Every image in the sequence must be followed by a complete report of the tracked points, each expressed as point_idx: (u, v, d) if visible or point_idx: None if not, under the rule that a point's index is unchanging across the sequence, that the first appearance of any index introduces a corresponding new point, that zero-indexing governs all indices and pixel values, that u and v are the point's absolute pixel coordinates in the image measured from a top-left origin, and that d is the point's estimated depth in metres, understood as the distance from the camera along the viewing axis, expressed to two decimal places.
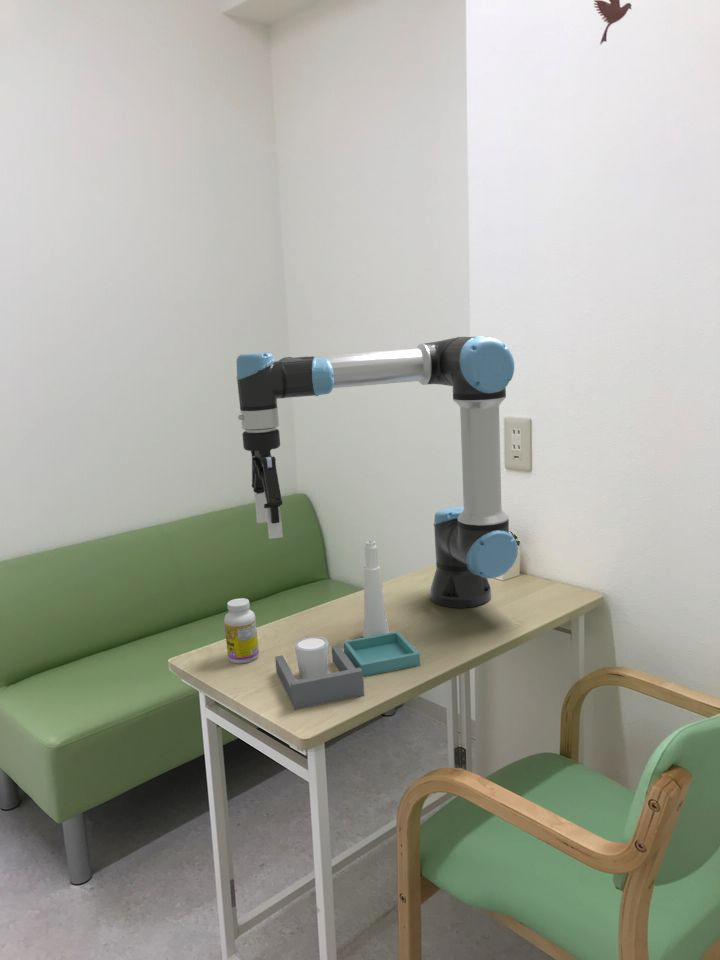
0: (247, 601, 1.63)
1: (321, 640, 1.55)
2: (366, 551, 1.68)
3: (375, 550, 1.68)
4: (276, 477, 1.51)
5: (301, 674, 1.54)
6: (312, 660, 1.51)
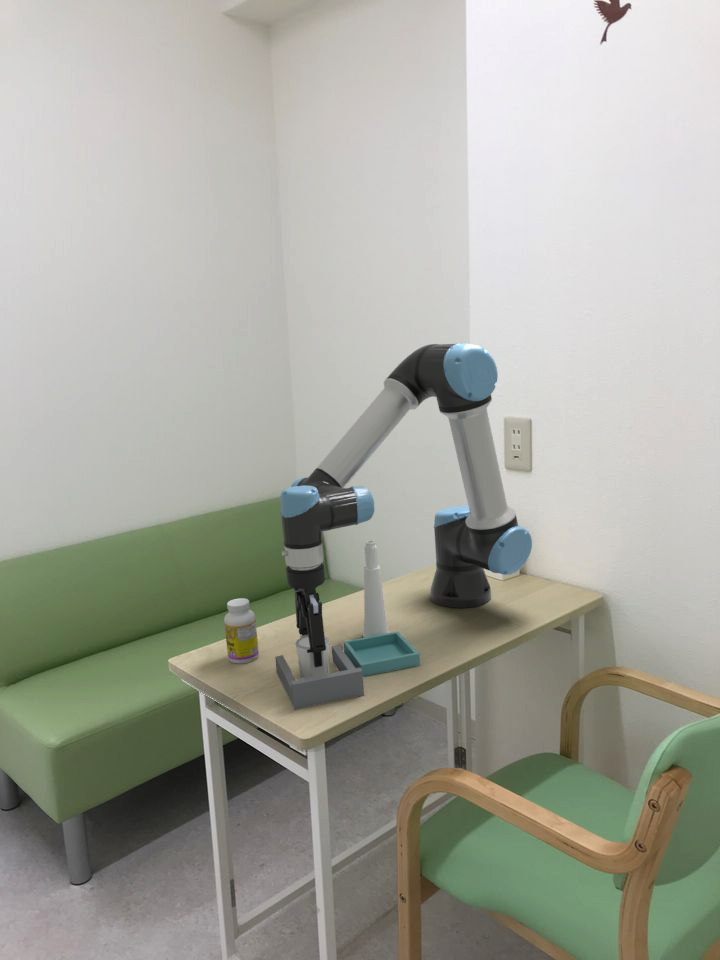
0: (247, 601, 1.63)
1: None
2: (366, 551, 1.68)
3: (375, 550, 1.68)
4: (321, 623, 1.48)
5: (302, 672, 1.54)
6: None
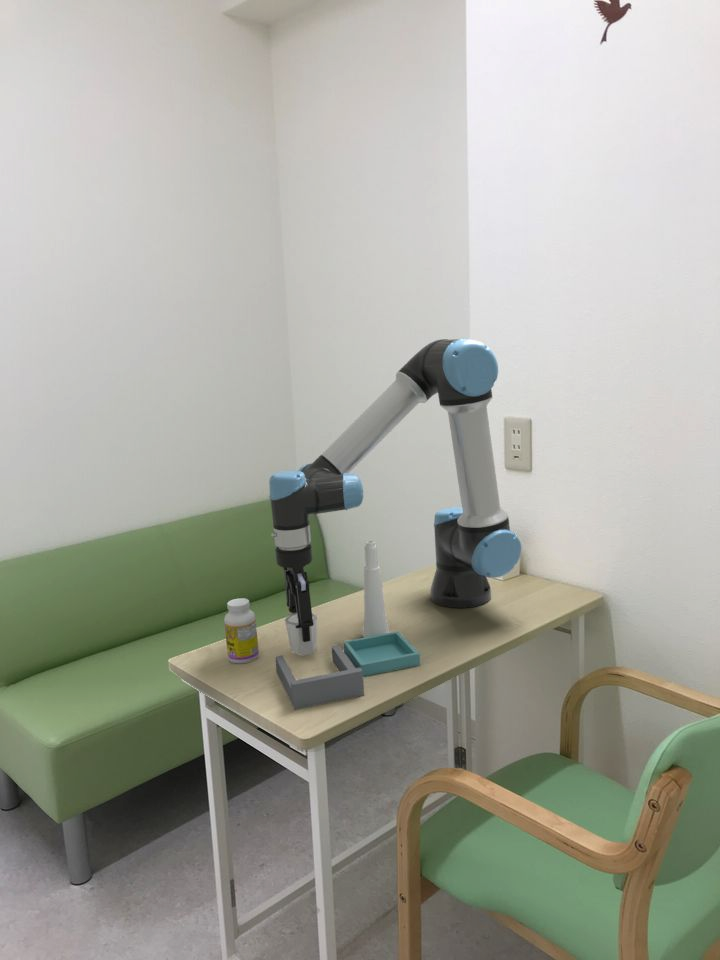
0: (247, 601, 1.63)
1: None
2: (366, 551, 1.68)
3: (375, 550, 1.68)
4: (309, 600, 1.56)
5: (291, 647, 1.63)
6: None
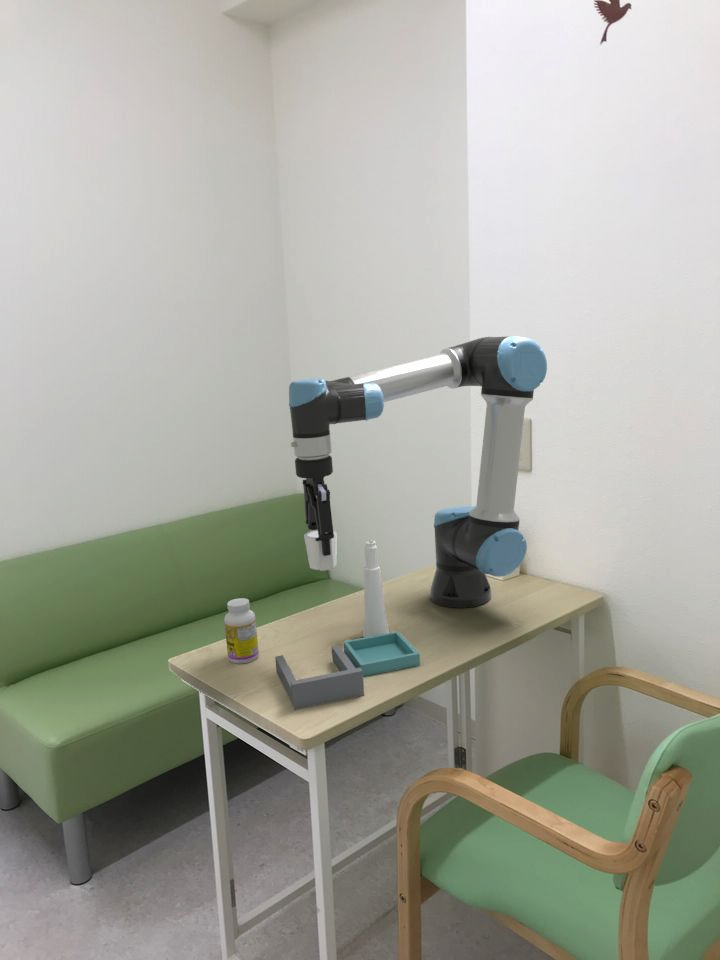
0: (247, 601, 1.63)
1: None
2: (366, 551, 1.68)
3: (375, 550, 1.68)
4: (329, 511, 1.51)
5: (311, 563, 1.58)
6: None
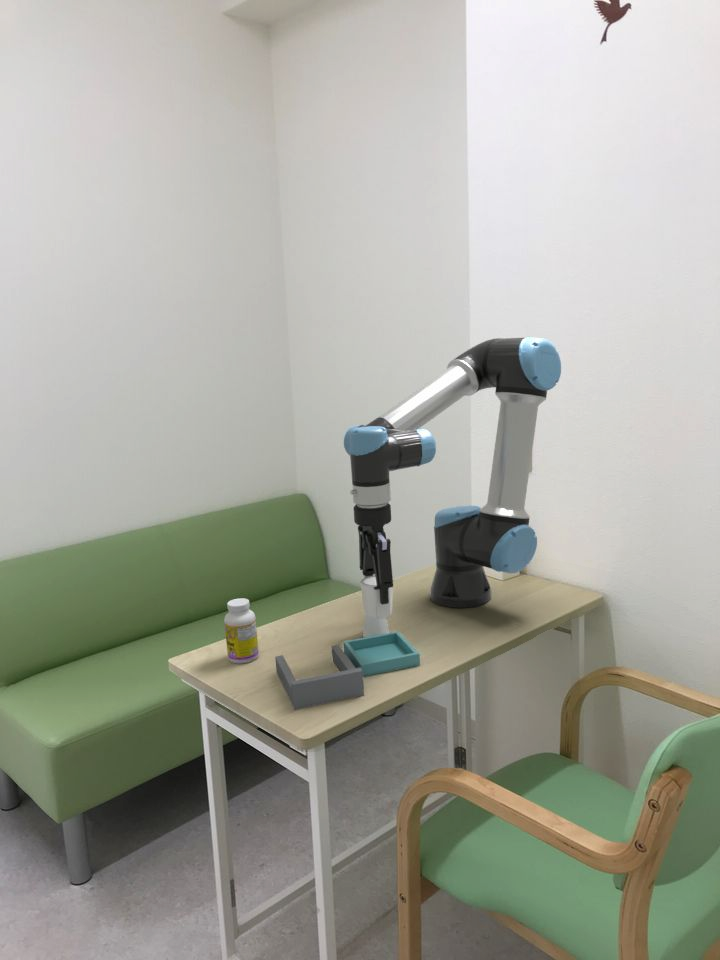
0: (247, 601, 1.63)
1: None
2: None
3: None
4: (389, 560, 1.50)
5: (367, 610, 1.57)
6: None
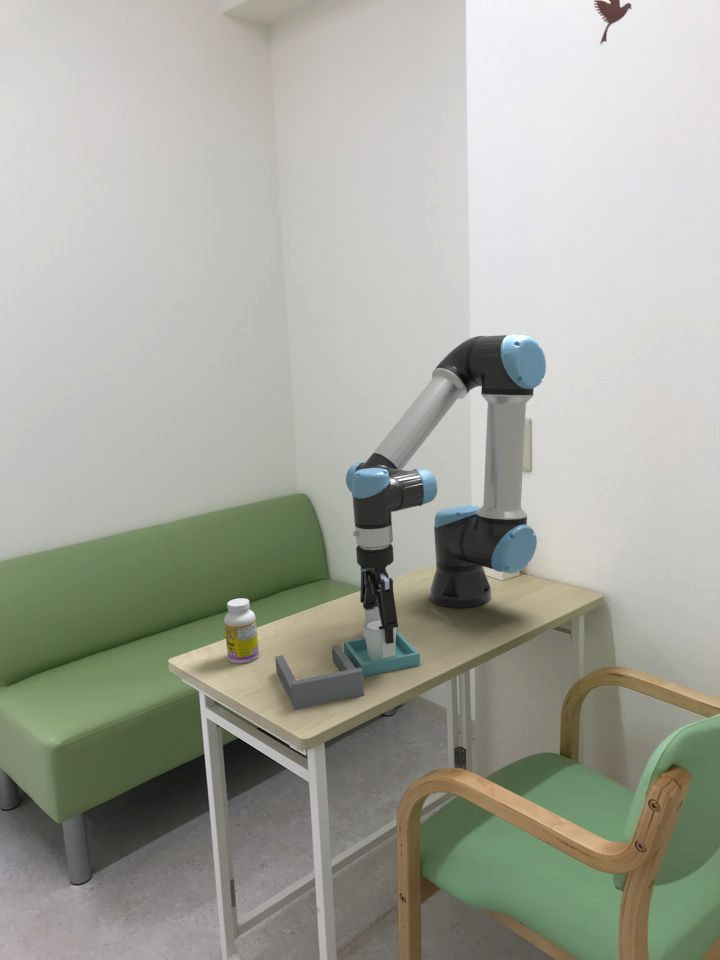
0: (247, 601, 1.63)
1: None
2: None
3: None
4: (393, 599, 1.51)
5: (370, 655, 1.59)
6: None
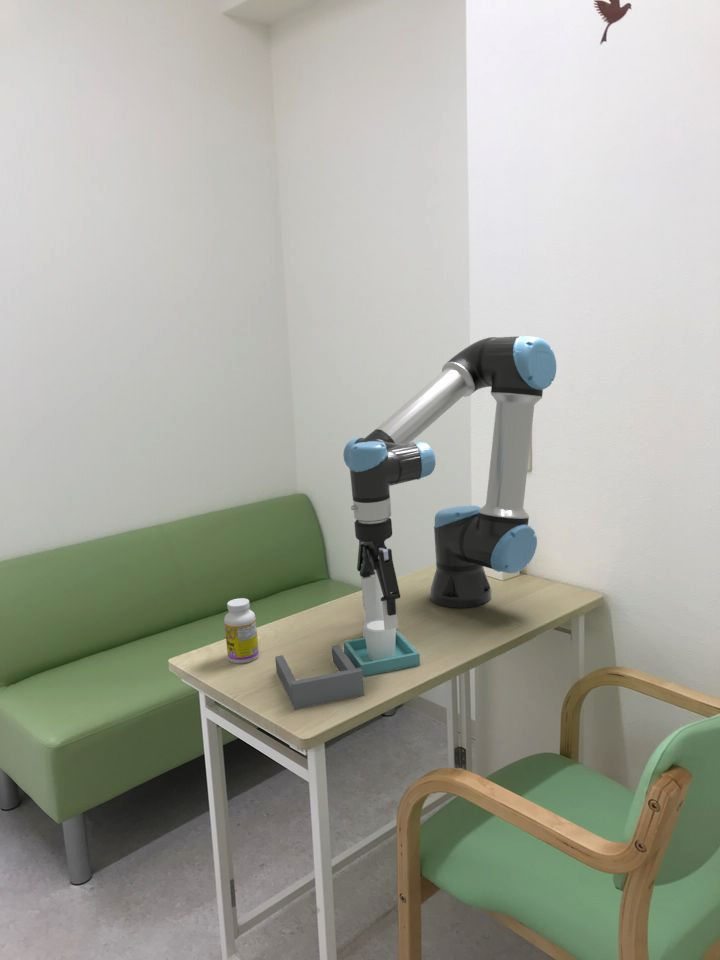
0: (247, 601, 1.63)
1: None
2: None
3: None
4: (393, 570, 1.50)
5: (370, 655, 1.59)
6: (382, 641, 1.57)
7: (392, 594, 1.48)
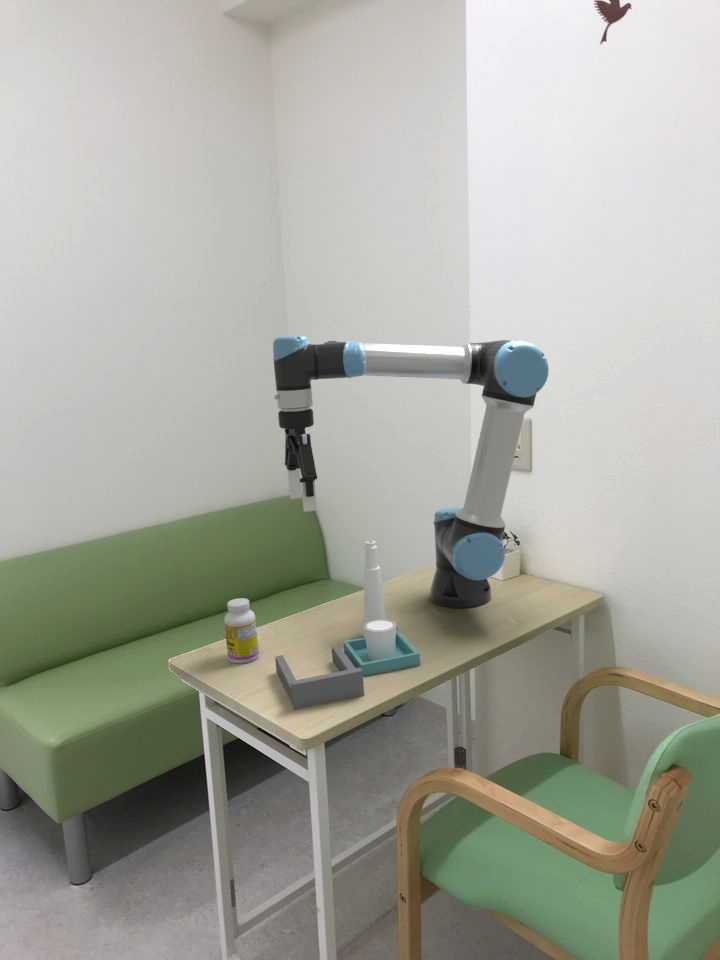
0: (247, 601, 1.63)
1: (388, 622, 1.61)
2: (366, 551, 1.68)
3: (375, 550, 1.68)
4: (311, 453, 1.60)
5: (370, 655, 1.59)
6: (382, 641, 1.57)
7: (309, 475, 1.59)
